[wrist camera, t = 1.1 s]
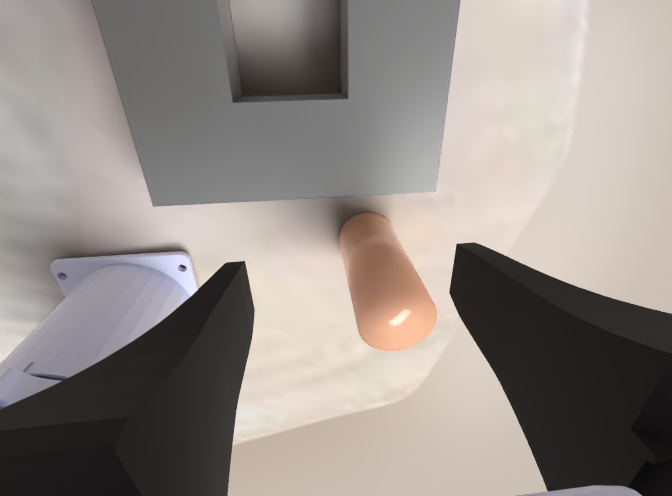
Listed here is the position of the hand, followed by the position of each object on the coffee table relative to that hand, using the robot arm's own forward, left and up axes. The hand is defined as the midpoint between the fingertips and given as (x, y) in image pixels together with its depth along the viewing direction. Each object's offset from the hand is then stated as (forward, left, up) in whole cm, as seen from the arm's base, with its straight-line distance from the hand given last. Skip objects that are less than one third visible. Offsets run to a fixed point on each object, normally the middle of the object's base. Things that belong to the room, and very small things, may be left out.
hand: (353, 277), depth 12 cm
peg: (-4, -2, -10) cm, 10 cm away
